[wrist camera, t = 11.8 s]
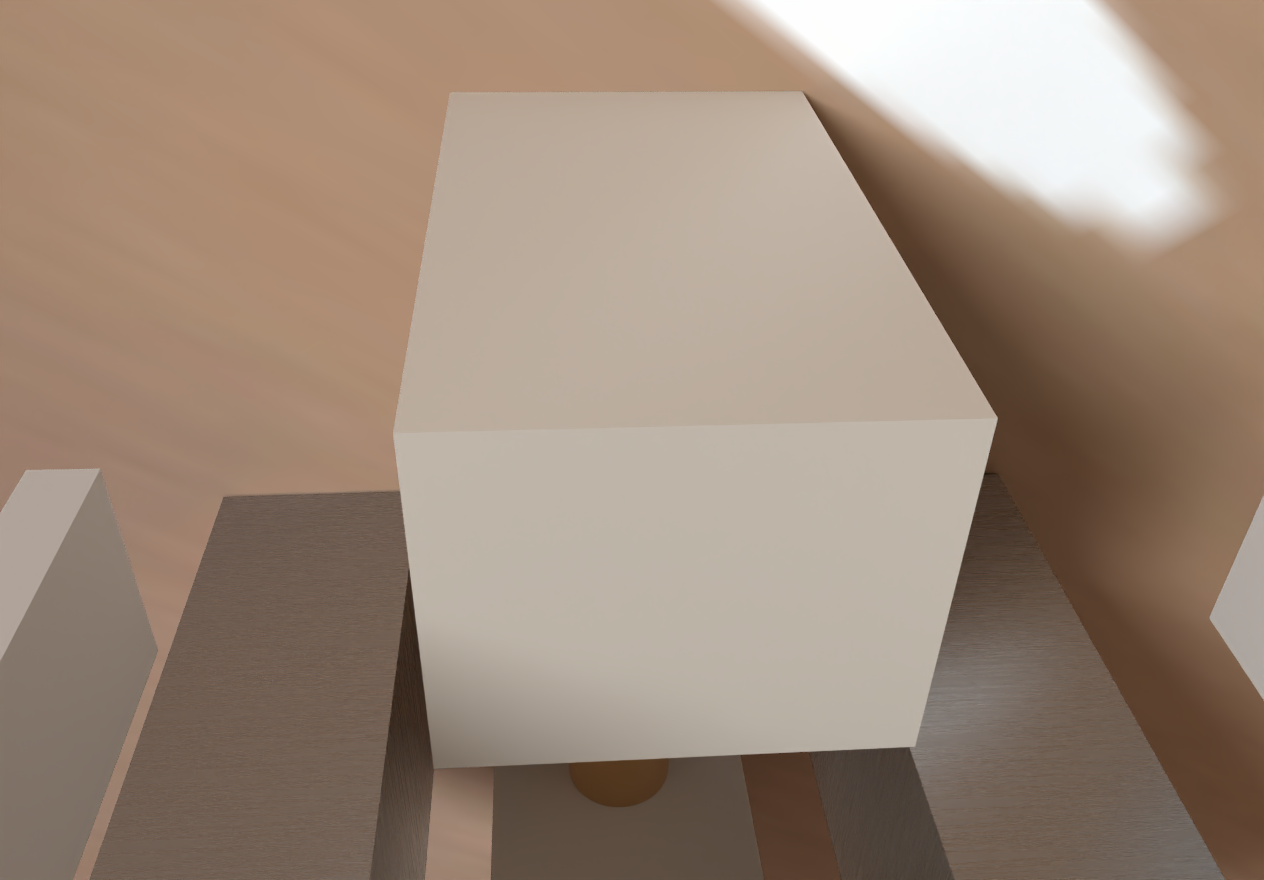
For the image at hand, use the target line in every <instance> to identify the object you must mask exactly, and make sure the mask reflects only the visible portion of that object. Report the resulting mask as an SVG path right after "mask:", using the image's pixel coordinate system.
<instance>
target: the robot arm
mask: <svg viewBox="0 0 1264 880" xmlns="http://www.w3.org/2000/svg"><path fill="white" fill-rule="evenodd" d="M1209 619H1210V620H1211V622H1212V623H1213V625H1214V626H1215V628H1216V629H1217V631H1218V632H1219V634H1220V635H1221V637H1222V638H1223V640H1224V641H1225V643H1226V644H1227V646H1228V647H1229V649H1230V650H1231V652H1232V653H1233V655H1234V656H1235V658H1236V659H1237V661H1238V662H1239V664H1240V665H1241V667H1242V668H1243V670H1244V671H1245V673H1246V674H1247V676H1248V677H1249V679H1250V680H1251V682H1252V683H1253V685H1254V686H1255V688H1256V689H1257V691H1258V692H1259V694H1260V695H1261V697H1262V698H1263V700H1264V496H1263V498H1262V500H1261V502H1260V505H1259V507H1258V509H1257V511H1256V514H1255V516H1254V518H1253V520H1252V523H1251V525H1250V527H1249V529H1248V532H1247V534H1246V536H1245V538H1244V541H1243V543H1242V545H1241V547H1240V550H1239V552H1238V554H1237V556H1236V559H1235V561H1234V563H1233V566H1232V568H1231V570H1230V572H1229V575H1228V577H1227V579H1226V581H1225V584H1224V586H1223V588H1222V590H1221V593H1220V595H1219V597H1218V599H1217V602H1216V604H1215V606H1214V608H1213V611H1212V613H1211V615H1210V617H1209ZM157 652H158V649H157V645H156V642H155V639H154V636H153V633H152V630H151V627H150V623H149V620H148V617H147V614H146V611H145V608H144V605H143V601H142V598H141V595H140V592H139V589H138V586H137V583H136V579H135V576H134V573H133V570H132V567H131V564H130V561H129V557H128V554H127V551H126V548H125V545H124V542H123V538H122V535H121V532H120V529H119V526H118V523H117V520H116V516H115V513H114V510H113V507H112V504H111V501H110V498H109V494H108V491H107V488H106V485H105V482H104V479H103V476H102V472H101V469H63V470H26V471H25V473H24V474H23V476H22V478H21V479H20V481H19V483H18V484H17V486H16V488H15V489H14V491H13V493H12V494H11V496H10V498H9V499H8V501H7V503H6V504H5V506H4V507H3V509H2V511H1V512H0V880H73V878H74V875H75V873H76V870H77V867H78V865H79V862H80V859H81V857H82V854H83V851H84V849H85V846H86V843H87V841H88V838H89V835H90V832H91V830H92V827H93V824H94V822H95V819H96V816H97V814H98V811H99V808H100V806H101V803H102V800H103V798H104V795H105V792H106V789H107V787H108V784H109V781H110V779H111V776H112V773H113V771H114V768H115V765H116V763H117V760H118V757H119V755H120V752H121V749H122V746H123V744H124V741H125V738H126V736H127V733H128V730H129V728H130V725H131V722H132V720H133V717H134V714H135V712H136V709H137V706H138V703H139V701H140V698H141V695H142V693H143V690H144V687H145V685H146V682H147V679H148V677H149V674H150V671H151V669H152V666H153V663H154V660H155V658H156V655H157Z"/></svg>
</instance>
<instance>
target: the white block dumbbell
mask: <svg viewBox="0 0 1264 880" xmlns="http://www.w3.org/2000/svg"><path fill="white" fill-rule="evenodd" d="M997 420H998V418H997V416H996V414H995V413H994V411H993V409H992V408H991V406H990V404H989V403H988V401H987V399H986V398H985V396H984V394H983V393H982V391H981V389H980V388H979V386H978V384H977V383H976V381H975V379H974V378H973V376H972V374H971V373H970V371H969V369H968V368H967V366H966V364H965V363H964V361H963V359H962V358H961V356H960V354H959V353H958V351H957V349H956V348H955V346H954V344H953V342H952V341H951V339H950V337H949V336H948V334H947V332H946V331H945V329H944V327H943V326H942V324H941V322H940V321H939V319H938V317H937V316H936V314H935V312H934V311H933V309H932V307H931V306H930V304H929V302H928V301H927V299H926V297H925V296H924V294H923V292H922V291H921V289H920V287H919V286H918V284H917V282H916V281H915V279H914V277H913V276H912V274H911V272H910V271H909V269H908V267H907V266H906V264H905V262H904V261H903V259H902V257H901V256H900V254H899V252H898V251H897V249H896V247H895V246H894V244H893V242H892V241H891V239H890V237H889V236H888V234H887V232H886V231H885V229H884V227H883V226H882V224H881V222H880V221H879V219H878V217H877V216H876V214H875V212H874V211H873V209H872V207H871V206H870V204H869V202H868V201H867V199H866V197H865V196H864V194H863V192H862V191H861V189H860V187H859V186H858V184H857V182H856V181H855V179H854V177H853V175H852V174H851V172H850V170H849V169H848V167H847V165H846V164H845V162H844V160H843V159H842V157H841V155H840V154H839V152H838V150H837V149H836V147H835V145H834V144H833V142H832V140H831V139H830V137H829V135H828V134H827V132H826V130H825V129H824V127H823V125H822V124H821V122H820V120H819V119H818V117H817V115H816V114H815V112H814V110H813V109H812V107H811V105H810V104H809V102H808V100H807V99H806V97H805V95H804V94H803V92H802V91H724V92H450V96H449V102H448V108H447V114H446V120H445V126H444V132H443V138H442V144H441V150H440V156H439V162H438V168H437V174H436V180H435V186H434V192H433V198H432V204H431V210H430V216H429V222H428V228H427V234H426V239H425V245H424V251H423V257H422V263H421V269H420V275H419V281H418V287H417V293H416V299H415V305H414V311H413V317H412V323H411V329H410V335H409V341H408V347H407V353H406V359H405V365H404V371H403V377H402V383H401V389H400V395H399V401H398V407H397V413H396V419H395V425H394V431H393V436H394V445H395V453H396V461H397V469H398V478H399V486H400V494H401V502H402V511H403V519H404V527H405V535H406V544H407V552H408V560H409V568H410V577H411V585H412V593H413V601H414V609H415V618H416V626H417V634H418V642H419V651H420V659H421V667H422V675H423V684H424V692H425V700H426V708H427V717H428V725H429V733H430V741H431V750H432V758H433V766H434V769H444V768H466V767H487V766H494V790H493V825H492V859H491V880H764V877H763V871H762V866H761V861H760V855H759V850H758V845H757V840H756V834H755V829H754V824H753V819H752V813H751V808H750V803H749V798H748V792H747V787H746V782H745V777H744V771H743V766H742V761H741V755H746V754H768V753H789V752H811V751H833V750H854V749H876V748H897V747H915V745H916V741H917V737H918V733H919V729H920V725H921V722H922V718H923V714H924V710H925V706H926V702H927V698H928V694H929V690H930V686H931V682H932V678H933V674H934V670H935V666H936V662H937V658H938V654H939V650H940V646H941V642H942V638H943V634H944V630H945V626H946V622H947V618H948V614H949V610H950V606H951V602H952V598H953V594H954V591H955V587H956V583H957V579H958V575H959V571H960V567H961V563H962V559H963V555H964V551H965V547H966V543H967V539H968V535H969V531H970V527H971V523H972V519H973V515H974V511H975V507H976V503H977V499H978V495H979V491H980V487H981V483H982V479H983V475H984V471H985V467H986V464H987V460H988V456H989V452H990V448H991V444H992V440H993V436H994V432H995V428H996V424H997Z"/></svg>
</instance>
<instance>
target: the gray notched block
mask: <svg viewBox="0 0 1264 880" xmlns="http://www.w3.org/2000/svg"><path fill="white" fill-rule="evenodd" d="M809 753H810V757H811V761H812V765H813V769H814V773H815V777H816V781H817V785H818V789H819V793H820V797H821V801H822V805H823V809H824V813H825V817H826V821H827V825H828V829H829V833H830V837H831V841H832V845H833V849H834V852H835V856H836V860H837V864H838V868H839V872H840V876H841V880H1225V878H1224V876H1223V875H1222V873H1221V871H1220V869H1219V868H1218V866H1217V864H1216V862H1215V860H1214V859H1213V857H1212V855H1211V853H1210V851H1209V850H1208V848H1207V846H1206V844H1205V843H1204V841H1203V839H1202V837H1201V835H1200V834H1199V832H1198V830H1197V828H1196V826H1195V825H1194V823H1193V821H1192V819H1191V818H1190V816H1189V814H1188V812H1187V810H1186V809H1185V807H1184V805H1183V803H1182V801H1181V800H1180V798H1179V796H1178V794H1177V793H1176V791H1175V789H1174V787H1173V785H1172V784H1171V782H1170V780H1169V778H1168V776H1167V775H1166V773H1165V771H1164V769H1163V768H1162V766H1161V764H1160V762H1159V760H1158V759H1157V757H1156V755H1155V753H1154V751H1153V750H1152V748H1151V746H1150V744H1149V743H1148V741H1147V739H1146V737H1145V735H1144V734H1143V732H1142V730H1141V728H1140V726H1139V725H1138V723H1137V721H1136V719H1135V717H1134V716H1133V714H1132V712H1131V710H1130V709H1129V707H1128V705H1127V703H1126V701H1125V700H1124V698H1123V696H1122V694H1121V692H1120V691H1119V689H1118V687H1117V685H1116V684H1115V682H1114V680H1113V678H1112V676H1111V675H1110V673H1109V671H1108V669H1107V667H1106V666H1105V664H1104V662H1103V660H1102V659H1101V657H1100V655H1099V653H1098V651H1097V650H1096V648H1095V646H1094V644H1093V642H1092V641H1091V639H1090V637H1089V635H1088V634H1087V632H1086V630H1085V628H1084V626H1083V625H1082V623H1081V621H1080V619H1079V617H1078V616H1077V614H1076V612H1075V610H1074V609H1073V607H1072V605H1071V603H1070V601H1069V600H1068V598H1067V596H1066V594H1065V592H1064V591H1063V589H1062V587H1061V585H1060V584H1059V582H1058V580H1057V578H1056V576H1055V575H1054V573H1053V571H1052V569H1051V567H1050V566H1049V564H1048V562H1047V560H1046V559H1045V557H1044V555H1043V553H1042V551H1041V550H1040V548H1039V546H1038V544H1037V542H1036V541H1035V539H1034V537H1033V535H1032V534H1031V532H1030V530H1029V528H1028V526H1027V525H1026V523H1025V521H1024V519H1023V517H1022V516H1021V514H1020V512H1019V510H1018V509H1017V507H1016V505H1015V503H1014V501H1013V500H1012V498H1011V496H1010V494H1009V492H1008V491H1007V489H1006V487H1005V485H1004V484H1003V482H1002V480H1001V478H1000V476H999V475H998V474H986V475H983V479H982V483H981V487H980V491H979V495H978V499H977V503H976V507H975V511H974V515H973V519H972V523H971V527H970V531H969V535H968V539H967V543H966V547H965V551H964V555H963V559H962V563H961V567H960V571H959V575H958V579H957V583H956V587H955V591H954V594H953V598H952V602H951V606H950V610H949V614H948V618H947V622H946V626H945V630H944V634H943V638H942V642H941V646H940V650H939V654H938V658H937V662H936V666H935V670H934V674H933V678H932V682H931V686H930V690H929V694H928V698H927V702H926V706H925V710H924V714H923V718H922V722H921V725H920V729H919V733H918V737H917V741H916V745H915V747H897V748H876V749H854V750H833V751H811V752H809ZM433 774H434V766H433V758H432V750H431V741H430V733H429V725H428V717H427V708H426V700H425V692H424V684H423V675H422V667H421V659H420V651H419V642H418V634H417V626H416V618H415V609H414V601H413V593H412V585H411V577H410V568H409V560H408V552H407V544H406V535H405V527H404V519H403V511H402V502H401V494H400V492H381V493H348V494H314V495H280V496H247V497H223V500H222V503H221V506H220V509H219V511H218V514H217V517H216V520H215V523H214V526H213V529H212V531H211V534H210V537H209V540H208V543H207V546H206V549H205V551H204V554H203V557H202V560H201V563H200V566H199V569H198V571H197V574H196V577H195V580H194V583H193V586H192V589H191V591H190V594H189V597H188V600H187V603H186V606H185V608H184V611H183V614H182V617H181V620H180V623H179V626H178V628H177V631H176V634H175V637H174V640H173V643H172V646H171V648H170V651H169V654H168V657H167V660H166V663H165V666H164V668H163V671H162V674H161V677H160V680H159V683H158V685H157V688H156V691H155V694H154V697H153V700H152V703H151V705H150V708H149V711H148V714H147V717H146V720H145V723H144V725H143V728H142V731H141V734H140V737H139V740H138V743H137V745H136V748H135V751H134V754H133V757H132V760H131V763H130V765H129V768H128V771H127V774H126V777H125V780H124V782H123V785H122V788H121V791H120V794H119V797H118V800H117V802H116V805H115V808H114V811H113V814H112V817H111V820H110V822H109V825H108V828H107V831H106V834H105V837H104V840H103V842H102V845H101V848H100V851H99V854H98V857H97V860H96V862H95V865H94V868H93V871H92V874H91V877H90V879H89V880H425V872H426V860H427V848H428V835H429V823H430V811H431V799H432V787H433Z"/></svg>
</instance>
